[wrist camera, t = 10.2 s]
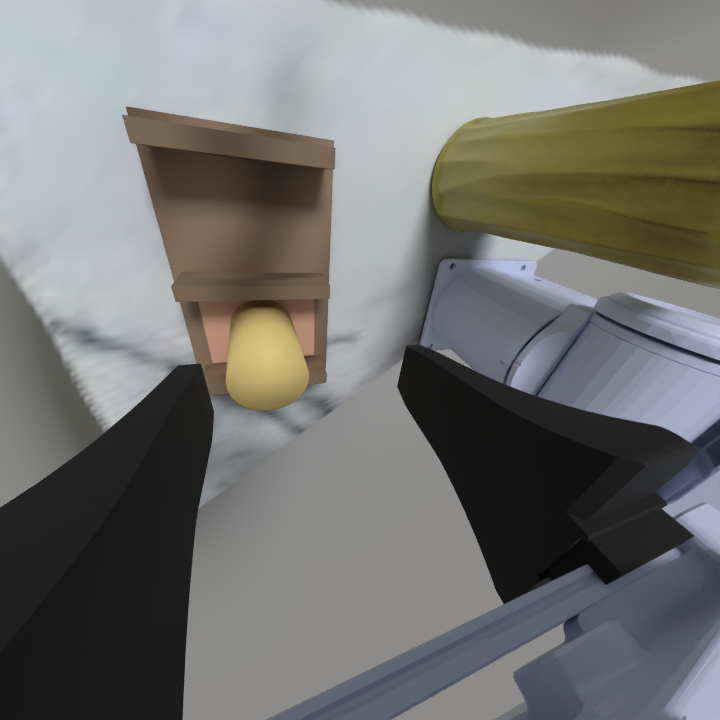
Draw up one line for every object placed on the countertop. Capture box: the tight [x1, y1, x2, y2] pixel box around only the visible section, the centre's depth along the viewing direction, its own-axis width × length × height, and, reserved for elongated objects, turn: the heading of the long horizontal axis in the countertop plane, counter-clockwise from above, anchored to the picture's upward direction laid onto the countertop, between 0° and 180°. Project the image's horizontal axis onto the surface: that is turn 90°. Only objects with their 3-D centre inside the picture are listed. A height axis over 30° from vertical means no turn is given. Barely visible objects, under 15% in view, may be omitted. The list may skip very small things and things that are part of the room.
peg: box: [226, 300, 309, 410], centre depth 16 cm, size 4×4×6 cm
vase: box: [432, 81, 720, 289], centre depth 12 cm, size 6×6×14 cm
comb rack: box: [122, 107, 335, 396], centre depth 16 cm, size 9×15×3 cm, turn 174°
